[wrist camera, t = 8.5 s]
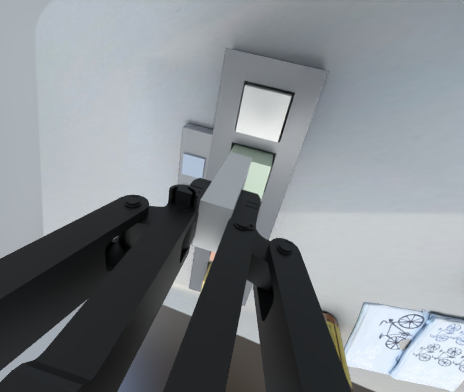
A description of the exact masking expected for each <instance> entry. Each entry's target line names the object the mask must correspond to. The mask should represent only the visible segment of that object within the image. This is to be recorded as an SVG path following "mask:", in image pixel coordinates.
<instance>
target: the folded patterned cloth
mask: <svg viewBox="0 0 464 392" xmlns="http://www.w3.org/2000/svg"><path fill="white" fill-rule="evenodd" d="M422 311H423V312H420V311H415V310H409V309H403V308H398V307H392V306H387V305H381V304H376V303H364V305H363V307H362V310H361V313H360V316H359V318H358V321H357V323H356V325H355V327H354V330H353V332H352V334H351V335H350V337H349V340H348V342H347V344H346V346H345V348H344V352H345V357H346V361H347V366H350V367H357V368H362V369H366V370H370V371H374V372H379V373H383V374H387V375H391V377H392V378H394V379H397V380H404V381H409V382H413V383H417V384H424V385H429V386H433V387H437V388H440V389H446V390H449V391H451V392H453V391H454V390H455V389H456V388H457V387H458V386H459V385H460V384H461V383H462V382H463V381H464V319H458V318H452V317H447V316H442V315H436V314H431V313H427V311H425V310H423V309H422ZM406 338H409V339H411V342H410V344H409V346H408V348H405V349H404V350H403V351H402V350H401V349H400V347H399V344H398V343H399V342H400V341H401V340H404V339H405V340H406Z"/></svg>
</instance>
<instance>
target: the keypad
mask: <svg viewBox="0 0 464 392" xmlns="http://www.w3.org/2000/svg"><path fill="white" fill-rule="evenodd" d="M328 72H329V71H325V70H321V69H317V68H312V67H308V66H304V65H299V64H295V63H290V62H286V61H282V60H277V59H273V58H268V57H264V56H260V55H255V54H251V53H246V52H242V51H238V50H233V49H228V48H226V51H225V57H224V64H223V70H222V77H221V83H220V89H219V96H218V102H217V109H216V115H215V122H214V128H213V130H212V129H208V128H204V127H200V126H196V125H192V124H187V125H185V126H184V127H183V128H182V139H181V151H180V162H179V174H178V184H184V185H189V186H190V184H191V183H192V181H193V180H195V179H198V178H203V179H206V180H209V181H213V179H214V178H215V176H216V174H217V173H218V171H219V170H220V168H221V167H222V165H223V163H224V162H225V160H226V159H227V156H228V154H229V152H230V151H231V149H232V148H233V146H234V145H235V143H238V144H242V145H245V146H249V147H253V148H257V149H261V150H265V151H269V152H273V153H275V156H274V159H273V163H272V166H271V169H270V173H269V176H268V179H267V183H266V186H265V189H264V193H263V196H262V199H261V202H260V207H259V212H258V217H257V222H256V229H257V231H258V233H259V234H260V235H261V236H262V237H264V238H265V239H267V240H269V237H270V234H271V232H272V229H273V226H274V223H275V220H276V218H277V215H278V212H279V209H280V206H281V204H282V201H283V198H284V195H285V192H286V190H287V187H288V184H289V181H290V178H291V176H292V173H293V170H294V167H295V165H296V162H297V159H298V156H299V153H300V151H301V148H302V145H303V142H304V139H305V137H306V134H307V131H308V128H309V125H310V123H311V120H312V117H313V114H314V111H315V109H316V106H317V103H318V100H319V98H320V95H321V92H322V89H323V86H324V84H325V81H326V78H327V75H328ZM248 82H253V83H257V84H261V85H265V86H269V87H274V88H278V89H282V90H286V91H291V92H294V93H293V97H292V100H291V103H290V107H289V110H288V113H287V116H286V120H285V123H284V126H283V130H282V133H281V135H280V136H279V139H278V142H274V141H270V140H266V139H262V138H258V137H254V136H251V135H247V134H243V133H239V132H236V127H237V122H238V117H239V112H240V107H241V102H242V97H243V92H244V88H245V85H247V84H248ZM192 244H193V240H192V242H191V245H192ZM210 255H211V251H208V250H205V249H202V248H199V247H196V246H195V252H194V258H193V265H192V271H191V278H190V284H189V289H192V290H196V291H199V292H201V289H202V284H203V280H204V277H205V275H206V272H207V269H208V267H209V264H210V262H213V261H211V260H210ZM252 285H253V283H251V282H249V281H248V280H247V281H246V286H245V291H244V296H243V301H242V305H244V306H245V304H246V301H247V299H248V296H249V293H250V290H251V287H252Z"/></svg>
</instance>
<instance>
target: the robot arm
mask: <svg viewBox="0 0 464 392" xmlns="http://www.w3.org/2000/svg"><path fill="white" fill-rule="evenodd" d="M251 161H252V158H251V157H247V156H244V155H240V154H237V153H233V152H230V154H229V155H228V157H227V159H226V160H225V162H224V163H223V165H222V167H221V168H220V170H219V171H218V173H217V174H216V176H215V178H214V179H213V181H209V180H206V179H203V178H198V179H195V180H193V181H192V183H191V184H190V186H189V185H184V184H178V185H174V186H172V187H170V190H169V201H168V204H167V205H166V206H165V207H155V206H149V202H148V200H147V199H146V198H144V197H142V196H139V195H127V196H124V197H121V198H119V199H117V200H115V201H113V202H111V203H109V204H107V205H105V206H103V207H101V208H99V209H97V210H95V211H93V212H91V213H89V214H87V215H85V216H83V217H82V218H80V219H78V220H76V221H74V222H72V223H70V224H68V225H66V226H64V227H62V228H60V229H58V230H56V231H54V232H52V233H50V234H48V235H46V236H44V237H42V238H40V239H38V240H37V241H34V242H32V243H30V244H28V245H26V246H24V247H22V248H20V249H19V250H17V251H15V252H13V253H11V254H9V255H7V256H5V257H3V258H1V259H0V371H1V370H2V369H3V368H4V367H6V366H7V365H8V364H9V363H10V362H12V361H13V360H14V359H15V358H16V357H17V356H19V355H20V354H21V353H23V352H24V351H25V350H26V349H27V348H28V347H30V346H31V345H32V344H33V343H35V342H36V341H37V340H38V339H39V338H41V337H42V336H43V335H44V334H45V333H47V332H48V331H49V330H51V329H52V328H53V327H54V326H55V325H56V324H58V323H59V322H60V321H61V320H62V319H64V318H65V317H66V316H67V315H69V314H70V313H71V312H72V311H74V310H75V309H76V308H77V307H78V306H80V304H82V303H83V302H85V300H87V299H88V298H89V299H88V300H87V301H86V302H85V303H84V304H83V306H82V307H81V308H80V309H79V310H78V312H77V313H76V314H75V315H74V316H73V318H72V319H71V320H70V321H69V323H68V324H67V325H66V326H65V327H64V328H63V330H62V331H61V332H60V333H59V334H58V336H57V337H56V338H55V339H54V341H53V342H52V343H51V344H50V345H49V346H48V348H47V349H46V350H45V351H44V352H43V353H42V354H41V355H40V356H39V357H38V358H36V359H35V360H33V361H30V362H26V363H22V364H21V365H19V366H18V367H17V368H15V369H14V370H12V371H11V372H10V373H9V374H8V375H7V376H6V377H5V378H4V379H3V380H2V381H1V382H0V392H117V391H118V389H119V387H120V385H121V383H122V381H123V379H124V377H125V376H126V374H127V372H128V370H129V368H130V366H131V364H132V361H133V360H134V358H135V356H136V354H137V352H138V350H139V348H140V346H141V344H142V342H143V341H144V339H145V337H146V335H147V333H148V331H149V329H150V327H151V325H152V323H153V321H154V319H155V317H156V315H157V313H158V311H159V309H160V308H161V306H162V304H163V302H164V300H165V298H166V296H167V294H168V292H169V290H170V288H171V286H172V284H173V282H174V280H175V278H176V276H177V274H178V273H179V271H180V269H181V267H182V265H183V263H184V261H185V259H186V257H187V255H188V253H189V249H190V244H191V242H192V240H193V244H192V246H196V247H199V248H202V249H205V250H208V251H212V252H215V253H216V254H215V257H214V259H213V262H212V265H211V267H210V270H209V273H208V275H207V278H206V280H205V283H204V286H203V288H202V291H201V294H200V296H199V299H198V301H197V304H196V307H195V309H194V312H193V315H192V317H191V320H190V323H189V325H188V328H187V331H186V333H185V336H184V338H183V341H182V343H181V346H180V349H179V351H178V354H177V357H176V359H175V362H174V365H173V367H172V370H171V372H170V375H169V378H168V380H167V383H166V386H165V388H164V391H163V392H225V389H226V384H227V379H228V374H229V368H230V363H231V358H232V353H233V348H234V343H235V338H236V332H237V327H238V322H239V317H240V312H241V307H242V301H243V296H244V291H245V286H246V281H247V280H248V281H249V282H251V283H253V284H254V285H253V290H254V298H255V306H256V314H257V322H258V330H259V338H260V346H261V355H262V362H263V371H264V378H265V387H266V392H352V391H351V388H350V385H349V383H348V380H347V377H346V375H345V372H344V369H343V367H342V364H341V361H340V358H339V356H338V353H337V350H336V348H335V345H334V342H333V340H332V337H331V334H330V332H329V329H328V326H327V323H326V321H325V318H324V315H323V313H322V310H321V307H320V305H319V302H318V299H317V296H316V294H315V291H314V288H313V286H312V283H311V280H310V278H309V275H308V272H307V269H306V267H305V264H304V261H303V259H302V256H301V253H300V251H299V249H298V247H297V246H296V245H295V244H293V243H292V242H290V241H289V240H286V239H283V238H275V239H273V240H272V241H269V240H267V239H265V238H264V237H262V236H261V235H260V234H259V233H258V231H257V229H256V222H257V217H258V212H259V207H260V202H261V199H260V197H259V195H258V194H256V193H252V192H249V191H246V190H243V189H244V186H245V182H246V179H247V175H248V172H249V168H250V164H251ZM117 236H118V237H117ZM116 237H117V238H116ZM114 238H115V239H114Z"/></svg>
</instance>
